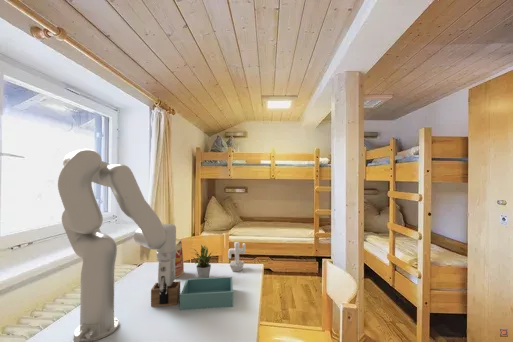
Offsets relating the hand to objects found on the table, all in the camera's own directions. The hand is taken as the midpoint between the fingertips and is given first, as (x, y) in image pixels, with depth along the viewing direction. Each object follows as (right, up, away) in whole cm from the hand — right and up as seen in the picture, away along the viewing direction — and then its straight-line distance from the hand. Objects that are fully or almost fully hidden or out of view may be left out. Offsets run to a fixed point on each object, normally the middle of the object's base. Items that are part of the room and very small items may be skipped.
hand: (166, 298), depth 102 cm
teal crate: (+17, -1, +2) cm, 17 cm away
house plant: (+9, -2, +24) cm, 26 cm away
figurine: (+26, -2, +34) cm, 43 cm away
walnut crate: (0, -1, 0) cm, 1 cm away
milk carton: (-6, -2, +27) cm, 28 cm away
